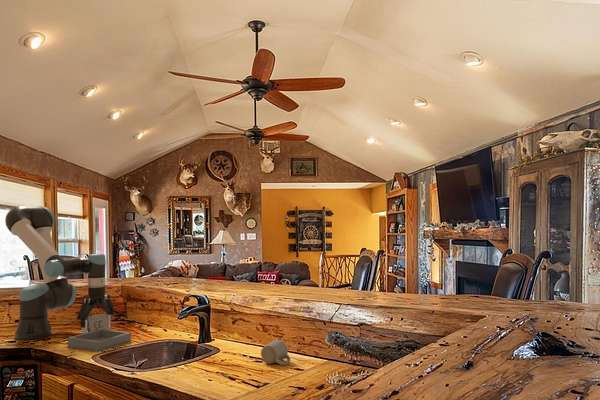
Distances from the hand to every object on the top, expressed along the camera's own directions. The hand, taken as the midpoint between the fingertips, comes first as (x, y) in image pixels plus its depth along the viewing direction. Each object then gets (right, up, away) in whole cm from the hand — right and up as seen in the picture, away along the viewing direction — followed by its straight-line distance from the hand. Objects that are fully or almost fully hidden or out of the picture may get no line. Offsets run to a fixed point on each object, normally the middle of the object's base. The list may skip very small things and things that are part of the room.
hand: (96, 331), depth 224 cm
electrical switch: (0, -2, 0) cm, 2 cm away
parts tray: (+10, 0, -19) cm, 21 cm away
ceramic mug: (+88, +1, -47) cm, 100 cm away
